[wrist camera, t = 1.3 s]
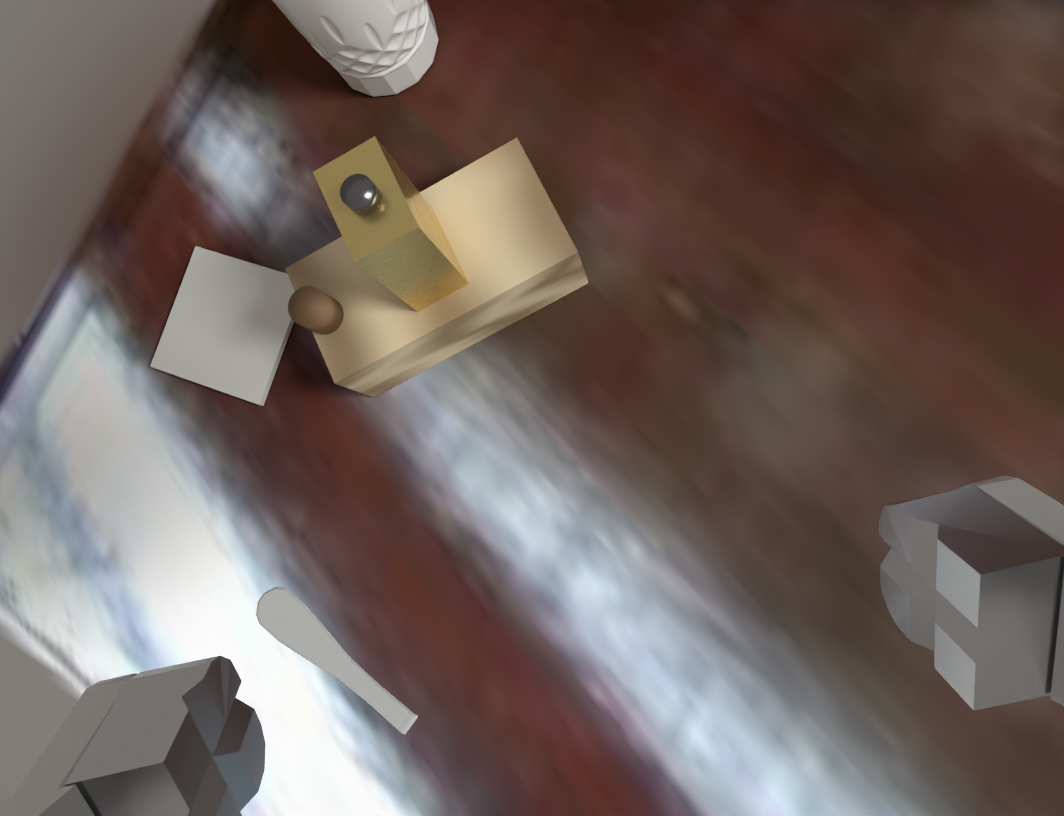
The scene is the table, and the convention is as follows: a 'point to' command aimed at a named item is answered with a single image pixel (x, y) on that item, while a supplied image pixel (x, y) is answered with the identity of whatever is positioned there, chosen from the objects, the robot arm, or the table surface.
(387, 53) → the white cup
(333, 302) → the body
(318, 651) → the butter knife
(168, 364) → the mat
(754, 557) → the table surface
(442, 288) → the brass knob block
